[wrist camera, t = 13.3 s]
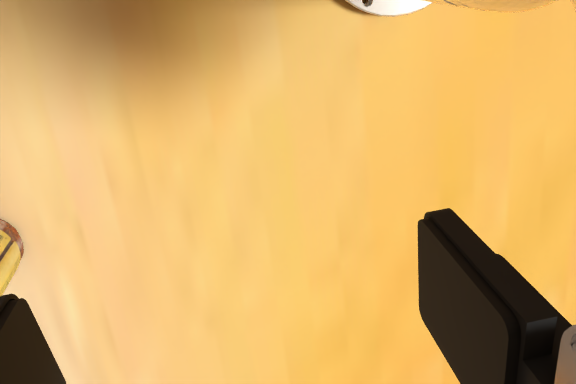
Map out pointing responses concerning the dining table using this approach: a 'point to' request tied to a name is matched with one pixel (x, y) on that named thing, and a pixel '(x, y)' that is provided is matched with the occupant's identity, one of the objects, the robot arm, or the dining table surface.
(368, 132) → the dining table surface
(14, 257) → the sauce bottle
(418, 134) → the dining table surface
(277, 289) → the dining table surface
